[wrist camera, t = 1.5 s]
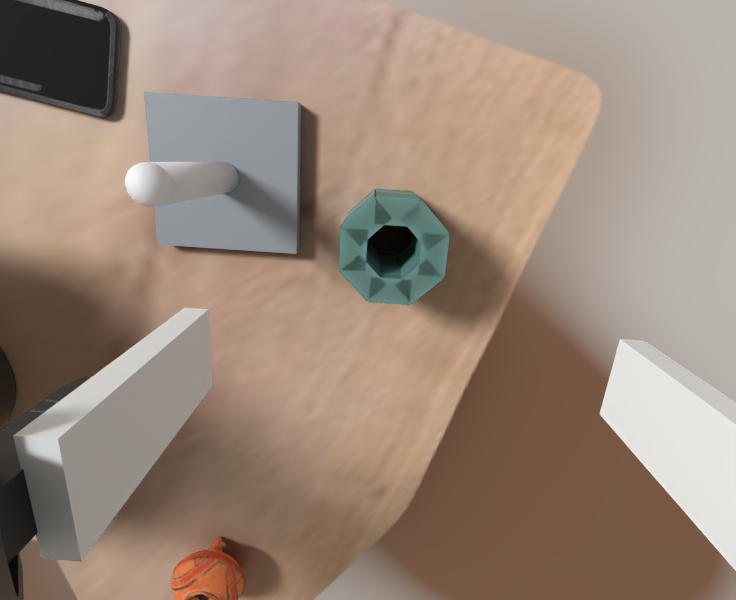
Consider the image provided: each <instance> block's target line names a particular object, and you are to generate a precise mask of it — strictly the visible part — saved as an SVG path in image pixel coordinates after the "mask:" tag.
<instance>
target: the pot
mask: <svg viewBox="0 0 736 600" xmlns="http://www.w3.org/2000/svg"><path fill="white" fill-rule="evenodd" d="M244 587H245V577H244V573H243V571H242V569H241V567H240V566H239V564H238V563H237V562H236V560H235V559H234V558H232V557H231V556H230V555H228V554H226V553H224V552H223V551H222V537H218V539H217V540H216V541H215V542H214V543H213V545H212V546H211V547H210V548H209V549H208V550H203V551H199V552H196V553H194V554H192V555H190V556H188V557H186V558H185V559H183V560H182V561H181V562H179V563H178V565H177V566H176V567H175V569H174V571H173V574H172V578H171V589H172V593H173V596H174V598H175V600H238V598H239V597H240V596H241V594H242V592H243V590H244Z"/></svg>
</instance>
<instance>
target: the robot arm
mask: <svg viewBox="0 0 736 600" xmlns="http://www.w3.org/2000/svg"><path fill="white" fill-rule="evenodd" d="M212 386H213V384H212V365H211V347H210V329H209V311H208V309H195V308H184V309H182V310H181V311H180V312H178V313H177V314H176V315H174V316H173V317H172V318H170V319H169V320H167V321H166V322H165V323H163V324H162V325H161V326H159V327H158V328H157V329H155V330H154V331H153V332H151V333H150V334H149V335H147V336H146V337H145V338H143V339H142V340H141V341H139V342H138V343H137V344H135V345H134V346H133V347H131V348H130V349H129V350H127V351H126V352H125V353H123V354H122V355H121V356H119V357H118V358H117V359H115V360H114V361H113V362H111V363H110V364H109V365H107V366H106V367H104V368H103V369H102V370H100V371H99V372H98V373H96V374H95V375H94V376H92V377H84V378H82V379H79V380H77V381H75V382H72V383H70V384H68V385H65V386H63V387H62V388H60V389H59V390H57V391H56V392H55V393H53V394H52V395H50V396H49V397H47V398H46V400H45V402H44V401H42V402H40V403H39V404H38V405H36V406H35V407H33V408H32V409H31V411H30V412H26V413H25V414H23V415H22V416H21V417H19V418H18V419H16V420H15V421H14V422H12V423H11V424H9V425H8V426H7V427H5V428H4V429H2V430H1V431H0V600H23V599H24V597H23V570H22V563H21V559H20V555H19V552H20V551H21V550H22V549H23V548H24V547H25V545H26V544H27V543H28V542H29V541H30V540H31V539H32V538H33V537H34V536H35V535H36V537H37V541H38V546H39V550H40V554H41V558H44V559H56V560H69V561H82V560H83V559H84V557H85V556H86V555H87V553H88V552H89V551H90V549H91V548H92V547H93V545H94V544H95V543H96V541H97V540H98V539H99V537H100V536H101V535H102V533H103V532H104V530H105V529H106V528H107V526H108V525H109V524H110V522H111V521H112V520H113V518H114V517H115V516H116V514H117V513H118V512H119V510H120V509H121V508H122V506H123V505H124V504H125V502H126V501H127V500H128V498H129V497H130V496H131V494H132V493H133V492H134V490H135V489H136V488H137V486H138V485H139V484H140V482H141V481H142V480H143V478H144V477H145V476H146V474H147V473H148V472H149V470H150V469H151V468H152V466H153V465H154V464H155V462H156V461H157V460H158V458H159V457H160V456H161V454H162V453H163V452H164V450H165V449H166V448H167V446H168V445H169V444H170V442H171V441H172V440H173V438H174V437H175V436H176V434H177V433H178V432H179V430H180V429H181V428H182V426H183V425H184V424H185V422H186V421H187V420H188V418H189V417H190V415H191V414H192V413H193V411H194V410H195V409H196V407H197V406H198V405H199V403H200V402H201V401H202V399H203V398H204V397H205V395H206V394H207V393H208V391H209V390H210V389H211V387H212ZM14 400H15V383H14V378H13V374H12V371H11V368H10V366H9V364H8V362H7V360H6V358H5V356H4V354H3V353H2V351H1V350H0V425H1V424H2V423H3V422H4V421H5V420H6V419H7V418H8V416H9V414H10V413H11V410H12V408H13V405H14ZM600 415H601V416H602V417H603V418H604V420H605V421H606V422H607V423H608V424H609V425H610V426H611V428H612V429H613V430H614V431H615V432H616V434H617V435H618V436H619V437H620V438H621V439H622V440H623V442H624V443H625V444H626V445H627V446H628V447H629V449H631V451H632V452H633V453H634V454H635V455H636V456H637V457H638V459H639V460H640V461H641V462H642V463H643V464H644V466H645V467H646V468H647V469H648V470H649V472H650V473H651V474H652V475H653V476H654V477H655V478H656V479H657V480H658V482H659V483H660V484H661V485H662V486H663V487H664V489H665V490H666V491H667V492H668V493H669V495H670V496H671V497H672V498H673V499H674V500H675V501H676V503H677V504H678V505H679V506H680V507H681V508H682V509H683V511H684V512H685V513H686V514H687V515H688V516H689V518H690V519H691V520H692V521H693V522H694V523H695V524H696V526H697V527H698V528H699V529H700V530H701V531H702V532H703V534H704V535H705V536H706V537H707V538H708V539H709V540H710V542H711V543H712V544H713V545H714V546H715V547H716V549H717V550H718V551H719V552H720V553H721V554H722V555H723V557H724V558H725V559H726V560H727V561H728V562H729V564H730V565H731V566H732V567H733V568H734V569H735V570H736V403H735V402H734V401H732V400H731V399H729V398H728V397H727V396H725V395H724V394H722V393H720V392H719V391H718V390H716V389H715V388H713V387H712V386H710V385H709V384H707V383H706V382H704V381H703V380H701V379H700V378H699V377H697V376H696V375H694V374H693V373H691V372H690V371H688V370H687V369H685V368H684V367H682V366H680V365H679V364H678V363H676V362H675V361H673V360H672V359H670V358H669V357H667V356H666V355H664V354H663V353H662V352H660V351H658V350H657V349H656V348H654V347H653V346H651V345H650V344H648V343H647V342H645V341H641V340H627V339H620V341H619V345H618V348H617V352H616V356H615V360H614V363H613V367H612V370H611V374H610V378H609V381H608V385H607V389H606V392H605V396H604V400H603V403H602V407H601V411H600Z"/></svg>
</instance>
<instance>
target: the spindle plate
mask: <svg viewBox="0 0 736 600" xmlns="http://www.w3.org/2000/svg"><path fill="white" fill-rule="evenodd" d="M144 98H145V109H146V120H147V131H148V142H149V153H150V162H141V163H138V164H136V165H134V166H132V167H131V168H130V169H129V171H128V172H127V174H126V178H125V186H126V189H127V192H128V194H129V195H130V196H131V198H132V199H133V200H135V201H136V202H137V203H139V204H141V205H144V206H147V207H155V218H156V229H157V240H158V245H171V246H186V247H201V248H216V249H231V250H246V251H261V252H276V253H291V254H297V253H298V251H299V244H300V172H301V104H300V103H299V102H287V101H272V100H258V99H243V98H228V97H213V96H199V95H184V94H169V93H154V92H144Z"/></svg>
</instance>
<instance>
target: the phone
mask: <svg viewBox="0 0 736 600" xmlns="http://www.w3.org/2000/svg"><path fill="white" fill-rule="evenodd" d="M120 48H121V24H120V22H119V20H118V18H117V17H116V16H115V15H114V14H113V13H112V12H110V11H109V10H107V9H105V8H102V7H100V6H96V5H92V4H89V3H85V2H82V1H78V0H0V91H4V92H7V93H11V94H15V95H19V96H23V97H27V98H30V99H34V100H38V101H42V102H46V103H50V104H53V105H57V106H61V107H65V108H69V109H73V110H76V111H80V112H84V113H88V114H92V115H96V116H101V117H108V116H111V115H112V114H114V112H115V111H116V108H117V98H118V81H119V65H120ZM116 65H117V72H116ZM115 96H116V98H115Z"/></svg>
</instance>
